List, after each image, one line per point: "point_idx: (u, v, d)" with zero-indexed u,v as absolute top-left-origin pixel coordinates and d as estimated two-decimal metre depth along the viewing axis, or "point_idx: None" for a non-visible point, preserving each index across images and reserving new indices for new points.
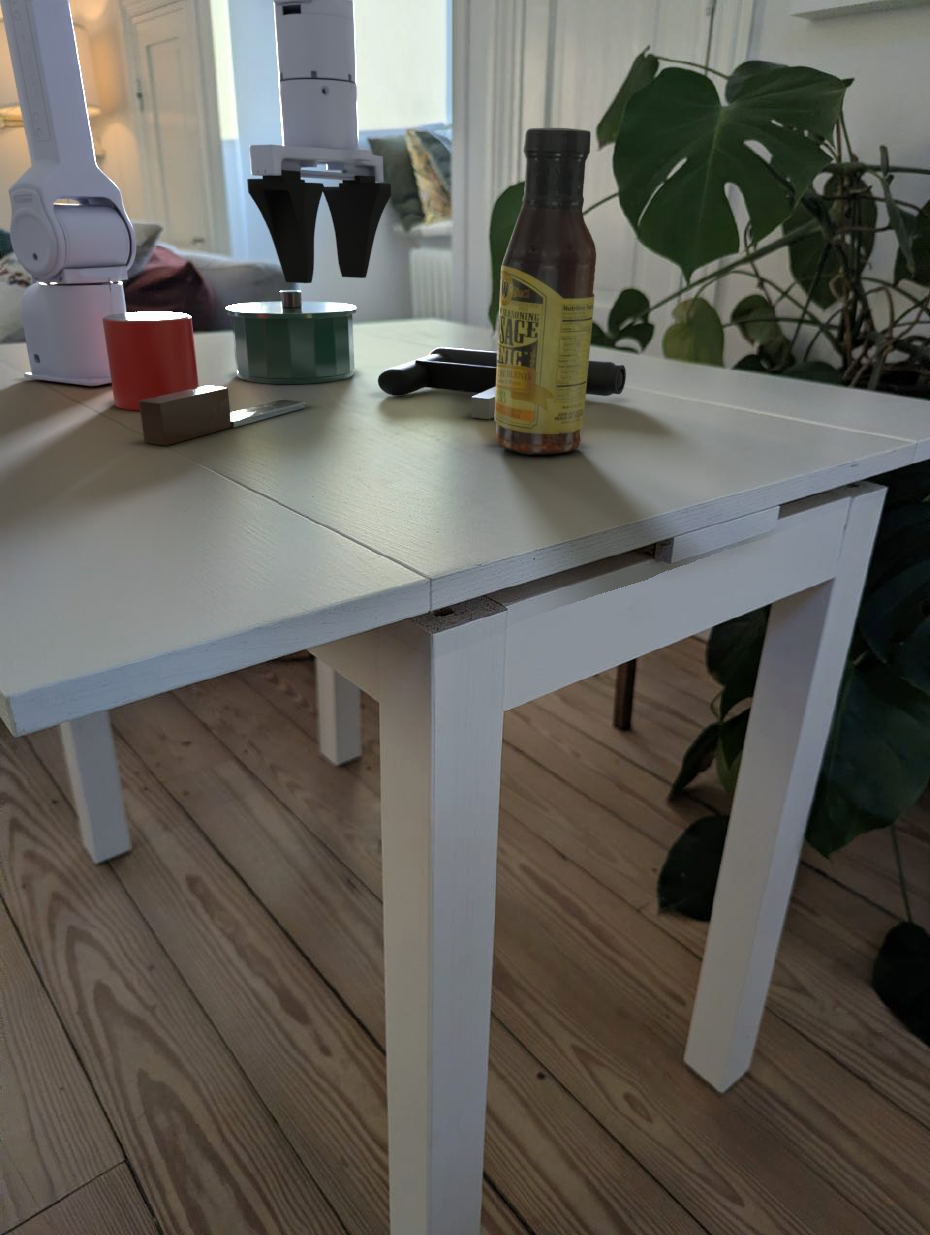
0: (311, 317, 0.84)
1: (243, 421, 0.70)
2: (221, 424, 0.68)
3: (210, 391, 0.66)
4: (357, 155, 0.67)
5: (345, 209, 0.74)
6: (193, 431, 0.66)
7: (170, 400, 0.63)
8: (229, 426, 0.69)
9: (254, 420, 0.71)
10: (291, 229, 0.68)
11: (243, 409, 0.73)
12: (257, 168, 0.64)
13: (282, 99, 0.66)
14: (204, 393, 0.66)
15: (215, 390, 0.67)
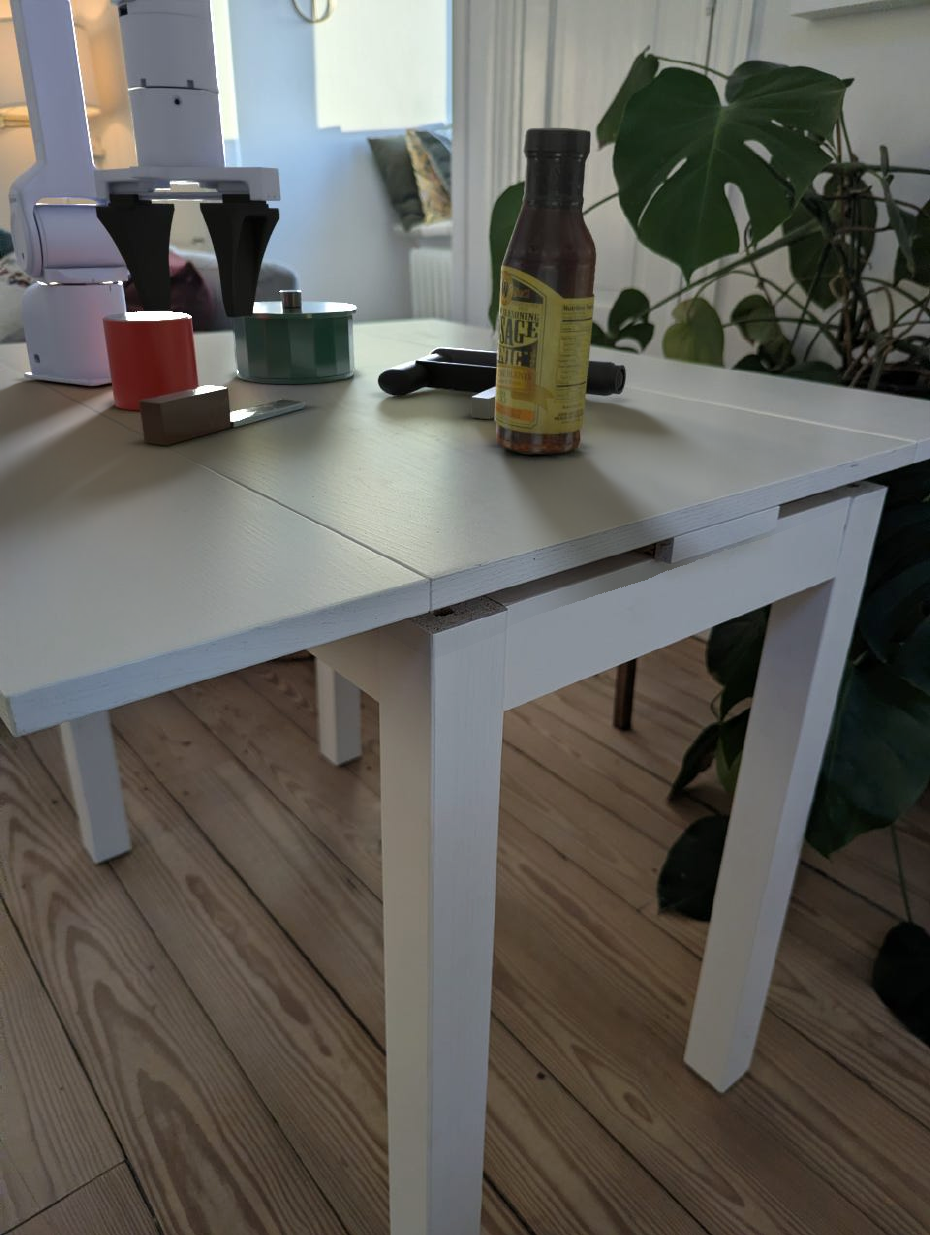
0: (311, 317, 0.84)
1: (243, 421, 0.70)
2: (221, 424, 0.68)
3: (210, 391, 0.66)
4: (130, 173, 0.58)
5: None
6: (193, 431, 0.66)
7: (170, 400, 0.63)
8: (229, 426, 0.69)
9: (254, 420, 0.71)
10: None
11: (243, 409, 0.73)
12: None
13: None
14: (204, 393, 0.66)
15: (215, 390, 0.67)
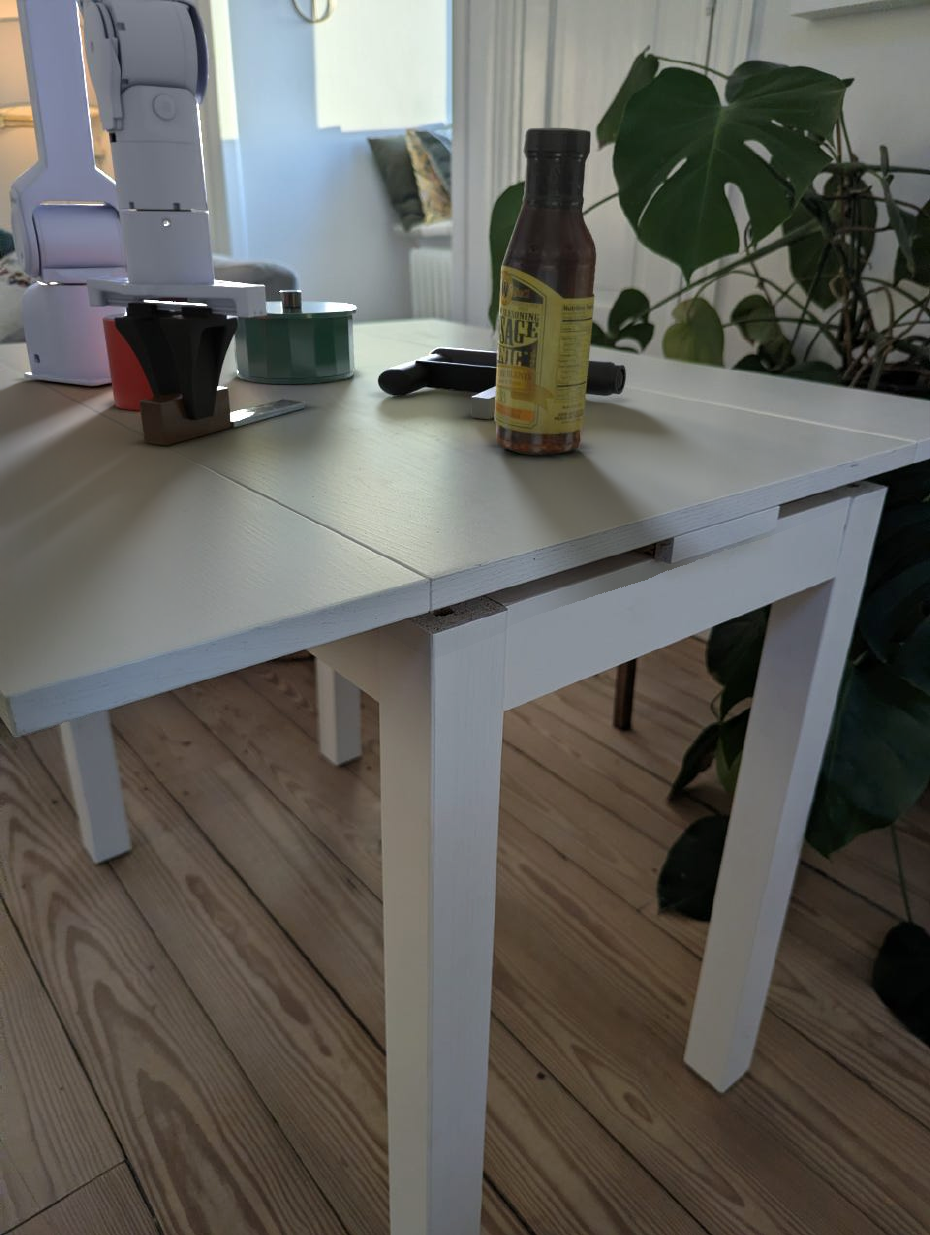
0: (311, 317, 0.84)
1: (243, 421, 0.70)
2: (221, 424, 0.68)
3: None
4: (121, 290, 0.60)
5: None
6: (193, 431, 0.66)
7: (170, 400, 0.63)
8: (229, 426, 0.69)
9: (254, 420, 0.71)
10: None
11: (243, 409, 0.73)
12: None
13: None
14: None
15: None
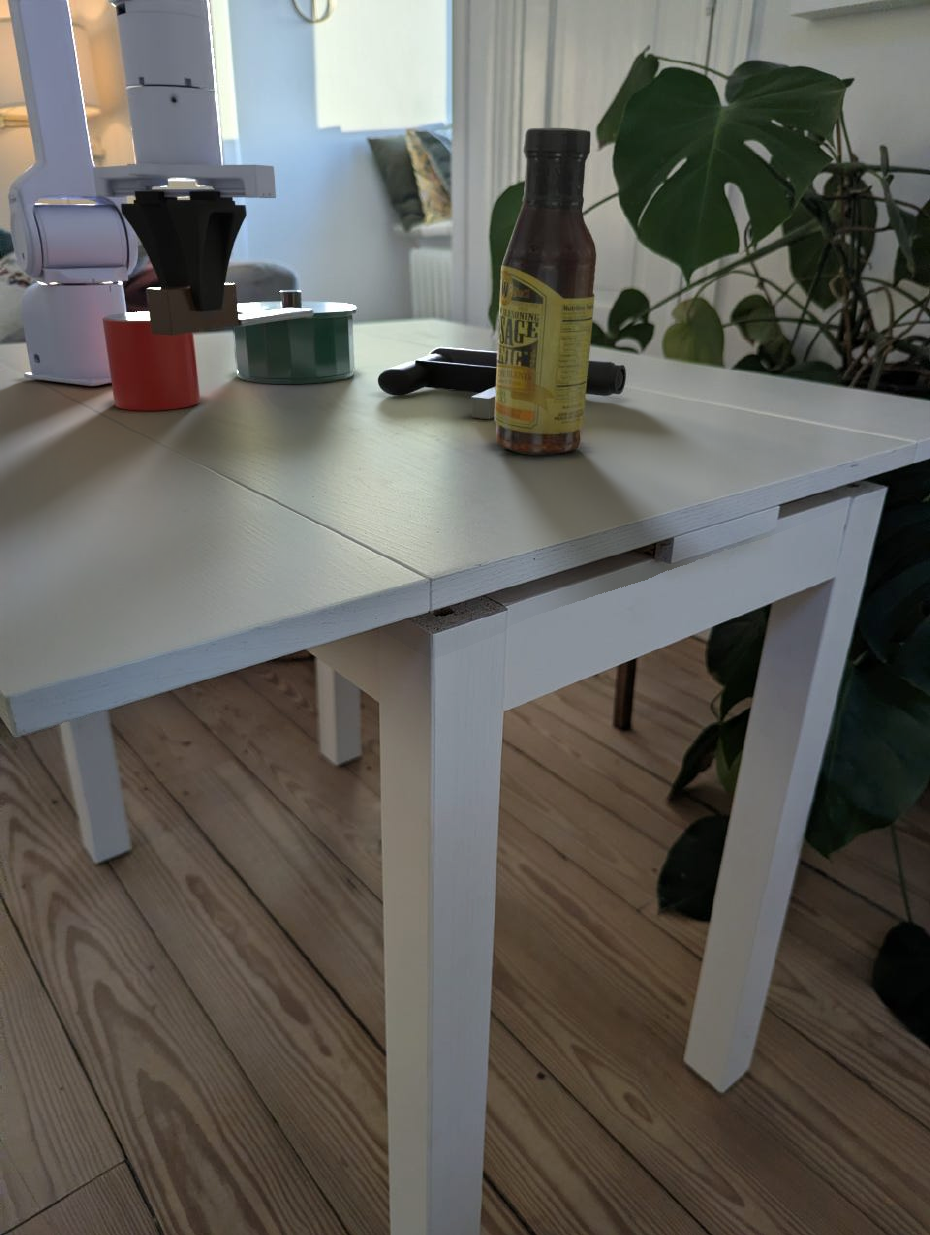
0: (311, 317, 0.84)
1: (251, 320, 0.69)
2: (229, 321, 0.67)
3: None
4: (128, 170, 0.59)
5: None
6: (200, 324, 0.65)
7: (177, 288, 0.62)
8: (237, 324, 0.68)
9: (262, 321, 0.70)
10: None
11: (251, 313, 0.72)
12: None
13: None
14: None
15: None
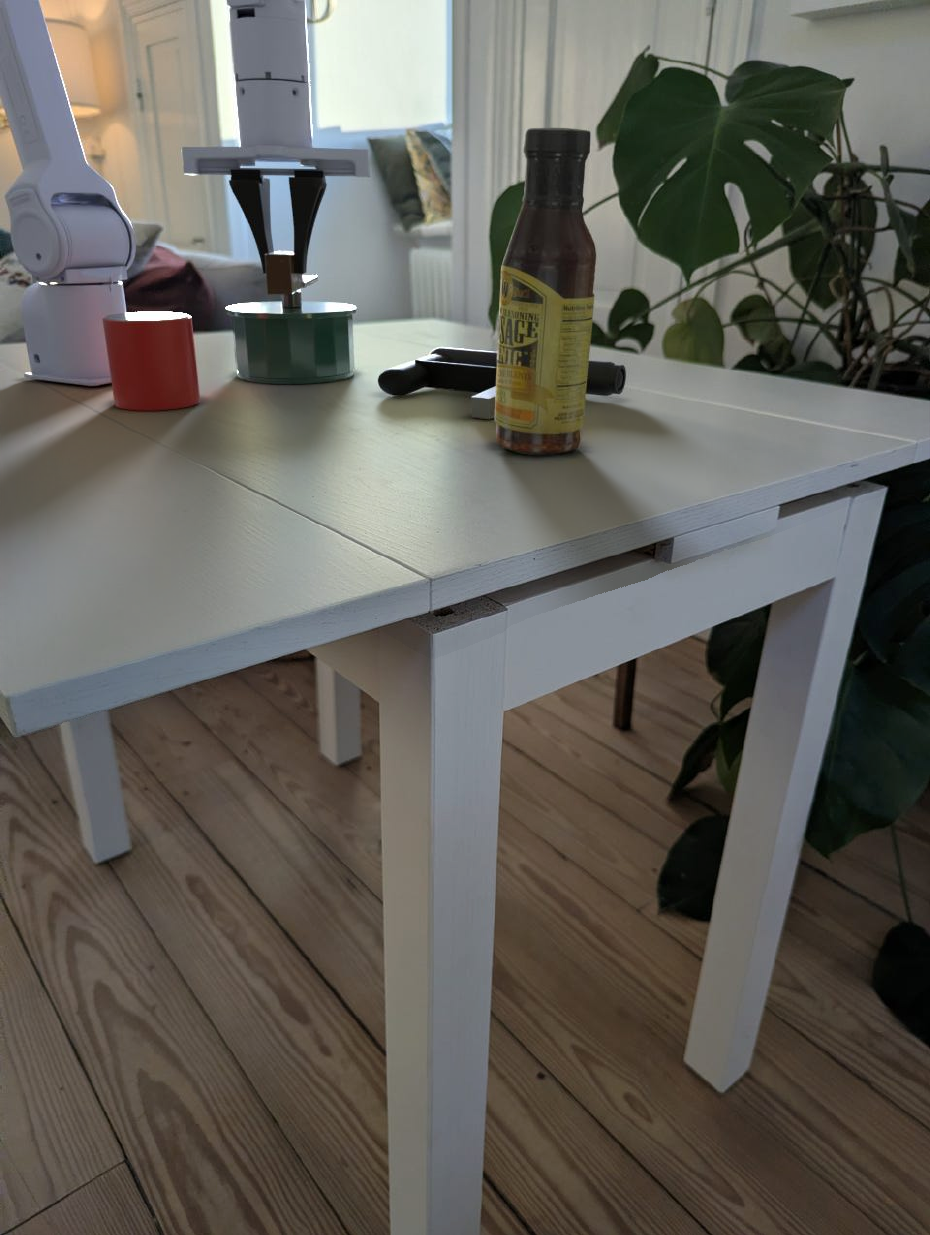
0: (311, 317, 0.84)
1: (307, 283, 0.80)
2: (301, 283, 0.78)
3: None
4: (258, 151, 0.68)
5: None
6: (296, 285, 0.75)
7: (290, 254, 0.73)
8: (303, 286, 0.79)
9: (309, 284, 0.81)
10: None
11: None
12: None
13: None
14: None
15: None
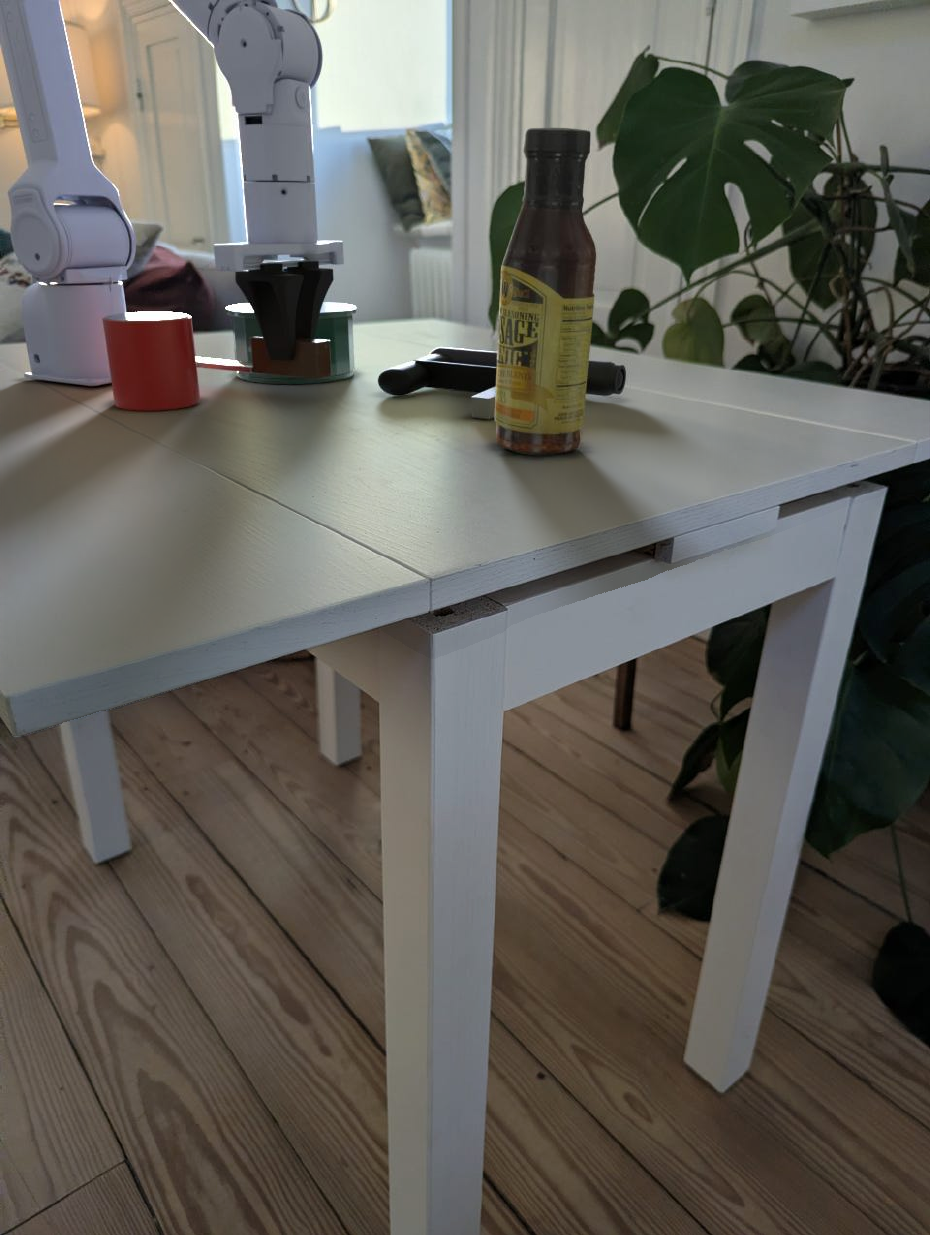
0: None
1: None
2: None
3: None
4: (315, 249, 0.72)
5: None
6: None
7: (318, 339, 0.77)
8: None
9: None
10: (274, 313, 0.75)
11: (217, 363, 0.81)
12: (221, 265, 0.69)
13: (245, 198, 0.72)
14: None
15: None
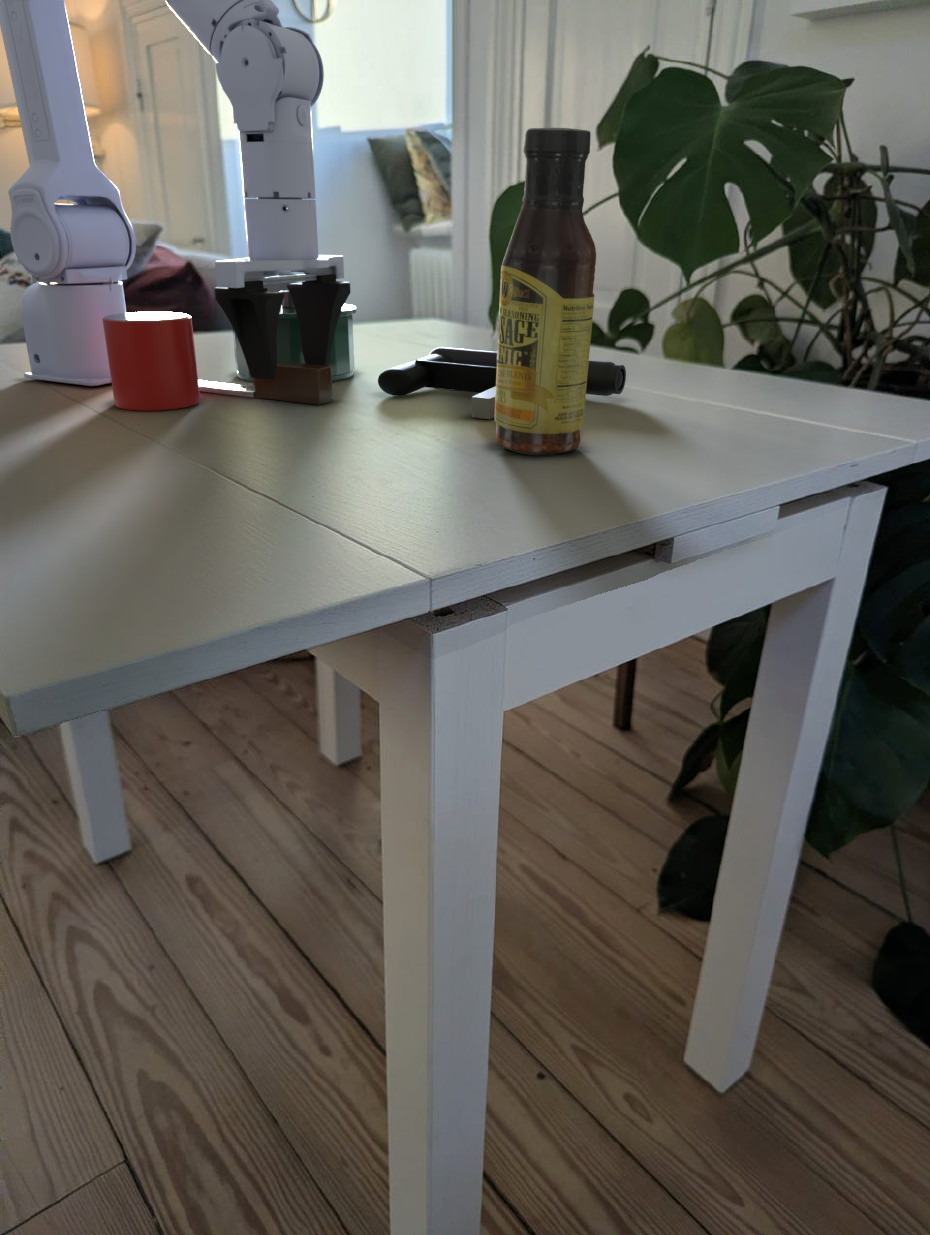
0: None
1: None
2: None
3: (281, 361, 0.80)
4: (315, 265, 0.73)
5: (308, 305, 0.80)
6: None
7: (319, 365, 0.78)
8: None
9: None
10: (255, 331, 0.74)
11: (219, 388, 0.82)
12: (222, 281, 0.70)
13: (246, 214, 0.72)
14: (289, 362, 0.80)
15: (277, 361, 0.80)
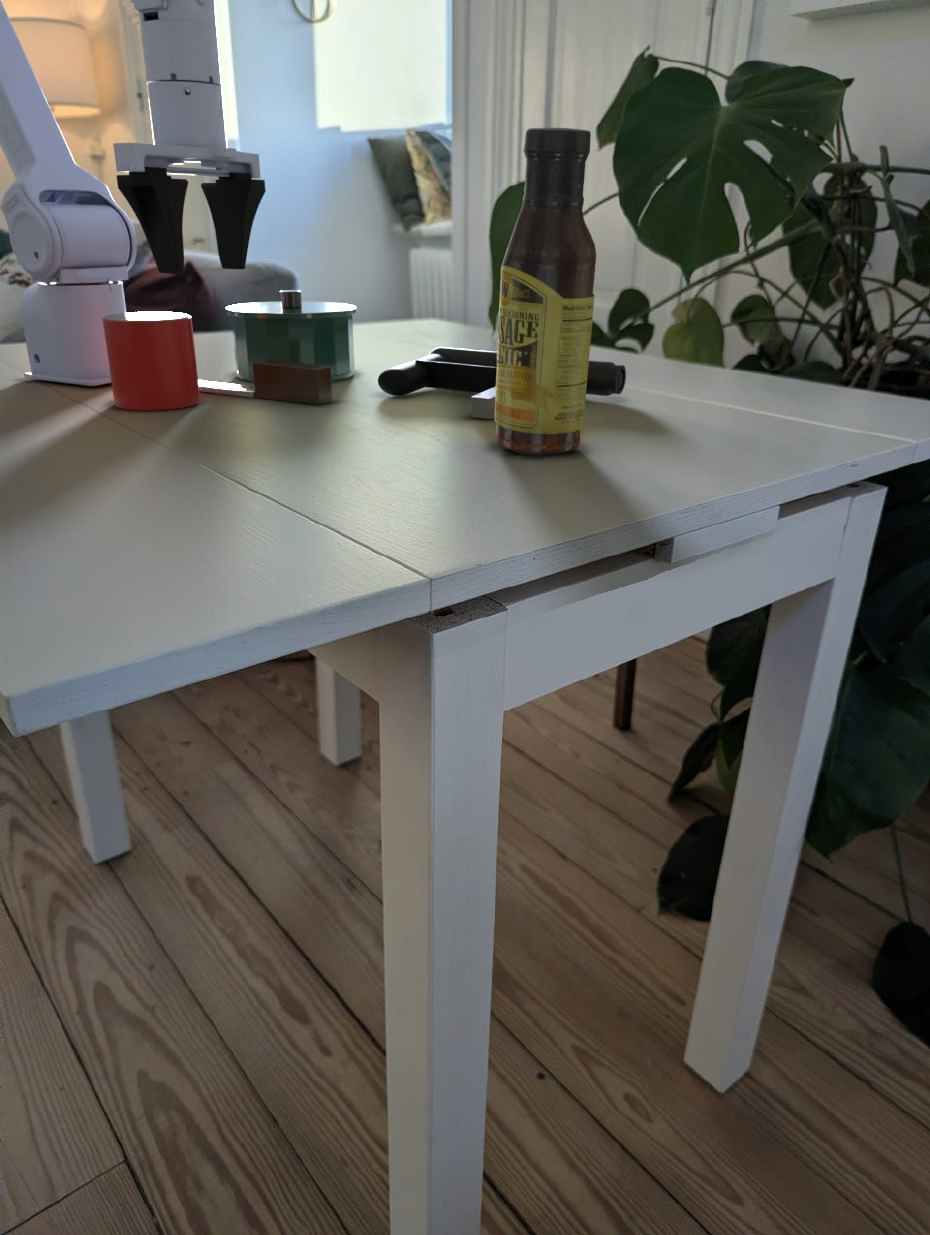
0: (311, 317, 0.84)
1: None
2: None
3: (281, 361, 0.80)
4: (221, 153, 0.71)
5: (222, 204, 0.78)
6: None
7: (319, 365, 0.78)
8: None
9: None
10: (160, 222, 0.72)
11: (219, 388, 0.82)
12: (121, 165, 0.68)
13: (150, 100, 0.70)
14: (289, 362, 0.80)
15: (277, 361, 0.80)
